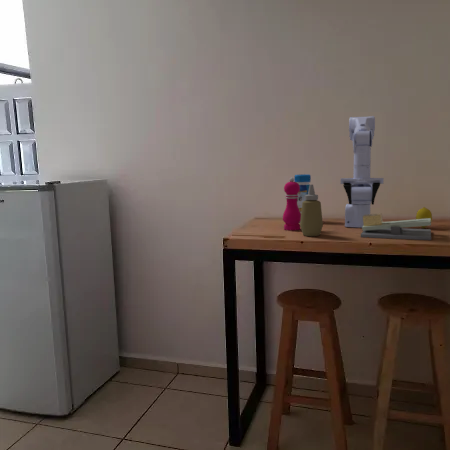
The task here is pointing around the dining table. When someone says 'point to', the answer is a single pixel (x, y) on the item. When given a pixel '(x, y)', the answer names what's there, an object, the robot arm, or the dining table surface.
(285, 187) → the pepper mill
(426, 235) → the pivot stand
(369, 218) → the tan block
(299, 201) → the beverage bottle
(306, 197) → the squeeze bottle
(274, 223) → the dining table surface
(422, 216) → the lemon
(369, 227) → the beam
